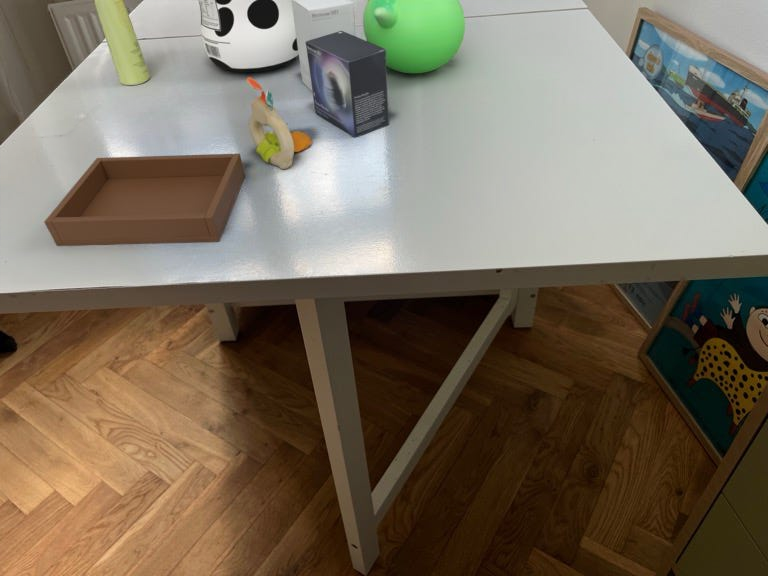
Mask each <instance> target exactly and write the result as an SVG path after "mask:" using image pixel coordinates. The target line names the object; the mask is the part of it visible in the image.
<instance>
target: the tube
mask: <svg viewBox="0 0 768 576" xmlns="http://www.w3.org/2000/svg"><path fill="white" fill-rule="evenodd" d="M93 3H94V6H95V9H96V12H97V15H98V19H99V22H100V25H101V28H102V32H103V35H104V39H105V41H106V44H107V48H108V50H109V53H110V56H111V59H112V63H113V65H114V69H115V71H116V75H117V77H118V81H119V82H120V84H122V85H125V86H136V85H137V86H138V85H141V84H143V83H145V82H147V81H149V80H150V77H151V76H150V73H149V70H148V69H149V68H148V66H147V63H146V61H145V57H144V54H143V51H142V49H141V46H140V43H139V40H138V37H137V34H136V31H135V29H134V26H133V23H132V21H131V18H130V15H129V12H128V9H127V7H126V4H125V1H124V0H93Z"/></svg>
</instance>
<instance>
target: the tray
mask: <svg viewBox="0 0 768 576" xmlns="http://www.w3.org/2000/svg"><path fill="white" fill-rule="evenodd" d="M245 177H246V172H245V170H244V165H243V160H242V156H241V153H211V154H210V153H209V154H183V155H182V154H179V155H178V154H177V155H147V156H145V155H144V156H112V157H96V158H95V160H94V161H93V162H92V163H91V165H89V167H88V168H87V169H86V171H85V172H84V173H83V174H82V175H81V176H80V178H79V179H78V180H77V181H76V183H75V184H74V185H73V186H72V187H71V188H70V190H69V191H68V192H67V194H66V195H65V196H64V197H63V198H62V200H61V201H60V202H59V203H58V204H57V206H55V208H54V209H53V210H52V212H51V213H50V214H49V215H48V216H47V218H46V219H45V220H44V221H43V223H44V224H45V226H46V228H47V230H48V232H49V234H50V235H51V237H52V239H53V241H54V243H55V245H56V246H59V247H60V246H94V245H95V246H97V245H100V246H101V245H135V244H139V245H141V244H174V243H175V244H178V243H217V242H218V243H219V242H221V238H222V236H223V233H224V230H225V228H226V225H227V223H228V221H229V218H230V215H231V213H232V210H233V208H234V205H235V203H236V200H237V197H238V195H239V192H240V191H241V187H242V185H243V182H244V180H245Z"/></svg>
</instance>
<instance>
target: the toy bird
mask: <svg viewBox="0 0 768 576" xmlns="http://www.w3.org/2000/svg"><path fill="white" fill-rule="evenodd" d="M362 16H363V17H362V26H363V33H364V37H365V41H368V42H370V43H373V44H375V45H377V46H380V47H382V48H385V49H386V67H388V68H389V69H390V70H391V69H392V70H394V71H397V72H400V73H405V74H423V73H427V72H432V71H434V70H436V69H439V68H441V67H442V66H444V65H445V64H447V63H448V62H449V61H450V60H452V58H454V56H455V55H456V54H457V53H458V51H459V49H460V48H461V45H462V43H463V41H464V38H465V37H464V36H465V31H466V20H465V19H466V18H465V13H464V10H463V6H462V4H461V1H460V0H367V1H366V4H365V6H364V11H363V15H362Z"/></svg>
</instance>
